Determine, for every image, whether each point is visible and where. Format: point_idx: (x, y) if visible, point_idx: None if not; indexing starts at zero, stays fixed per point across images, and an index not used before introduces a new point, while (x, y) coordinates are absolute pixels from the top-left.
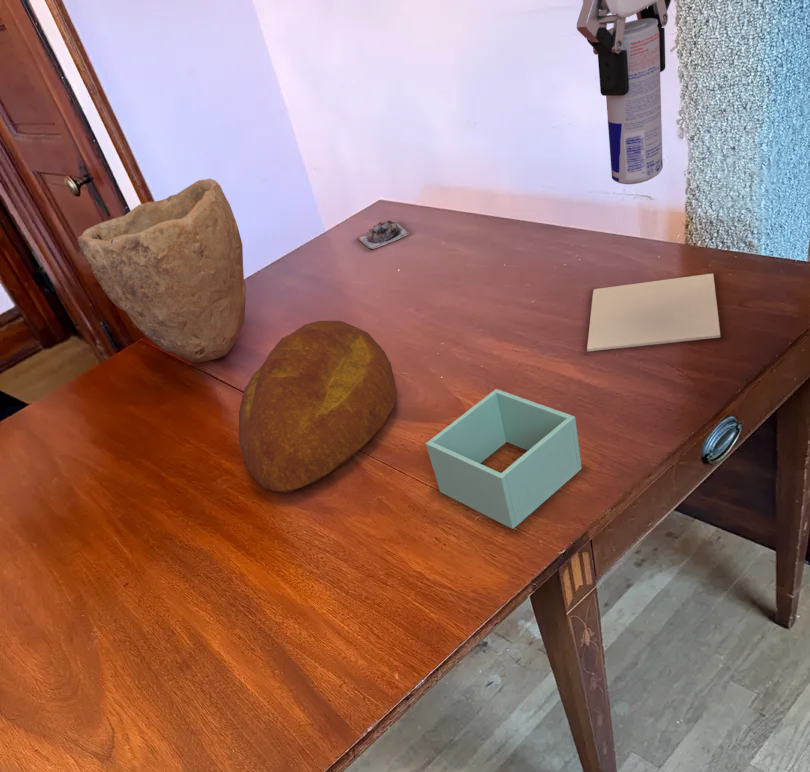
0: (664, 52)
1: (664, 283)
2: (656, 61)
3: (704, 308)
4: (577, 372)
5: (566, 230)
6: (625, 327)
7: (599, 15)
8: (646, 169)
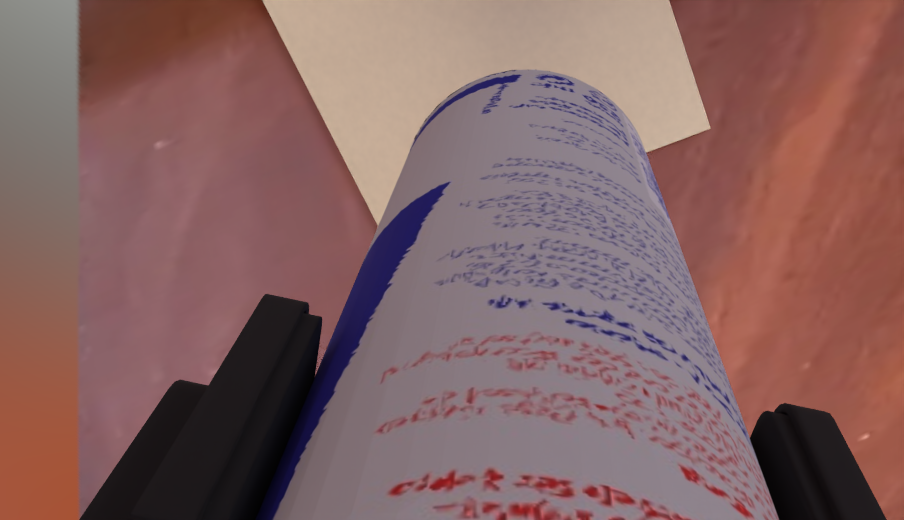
0: (235, 362)
1: (318, 57)
2: (549, 337)
3: None
4: (818, 106)
5: (88, 454)
6: (582, 68)
7: None
8: (622, 119)
